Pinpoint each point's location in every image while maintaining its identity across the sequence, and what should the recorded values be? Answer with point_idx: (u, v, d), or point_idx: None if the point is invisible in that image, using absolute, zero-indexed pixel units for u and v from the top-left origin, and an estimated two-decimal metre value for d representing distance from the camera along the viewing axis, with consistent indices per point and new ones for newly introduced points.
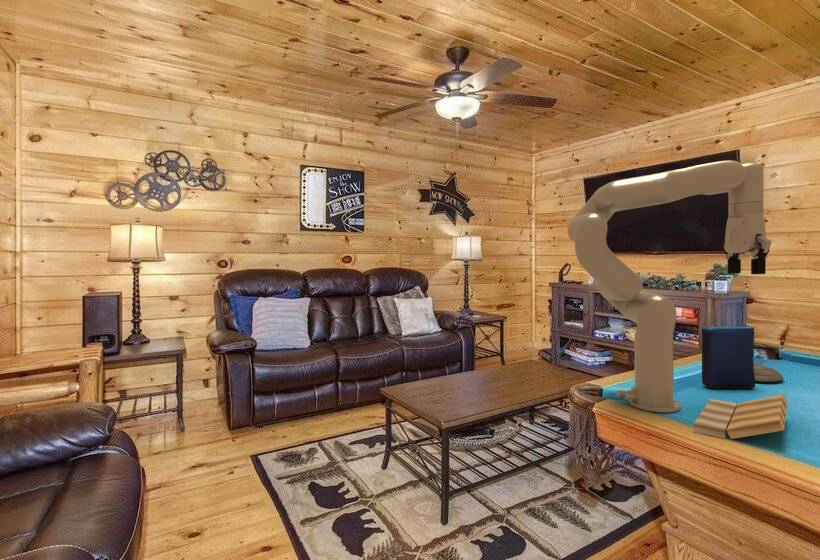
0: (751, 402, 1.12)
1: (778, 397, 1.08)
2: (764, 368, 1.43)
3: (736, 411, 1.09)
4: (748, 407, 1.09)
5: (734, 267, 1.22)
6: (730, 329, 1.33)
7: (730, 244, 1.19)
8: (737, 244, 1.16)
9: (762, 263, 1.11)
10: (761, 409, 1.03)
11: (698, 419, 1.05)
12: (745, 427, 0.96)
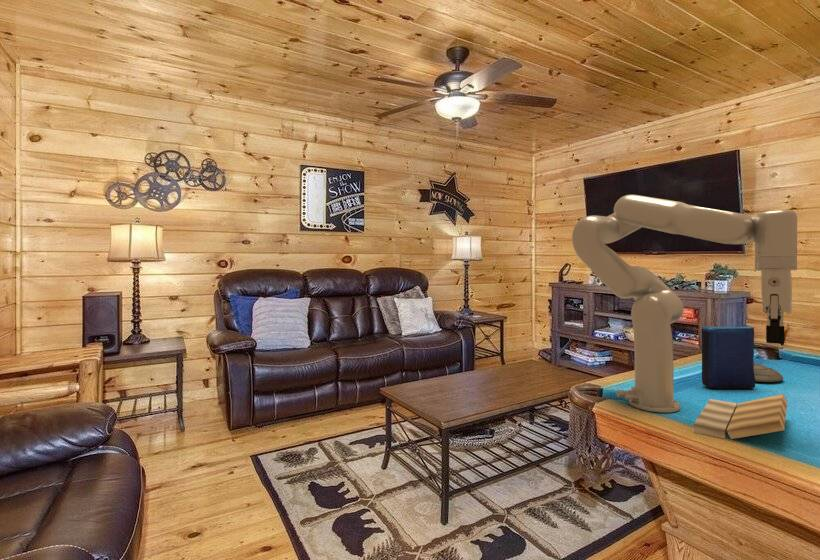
0: (751, 402, 1.12)
1: (778, 397, 1.08)
2: (764, 368, 1.43)
3: (736, 411, 1.09)
4: (748, 407, 1.09)
5: None
6: (730, 329, 1.33)
7: (791, 303, 0.97)
8: None
9: None
10: (761, 409, 1.03)
11: (698, 419, 1.05)
12: (745, 427, 0.96)
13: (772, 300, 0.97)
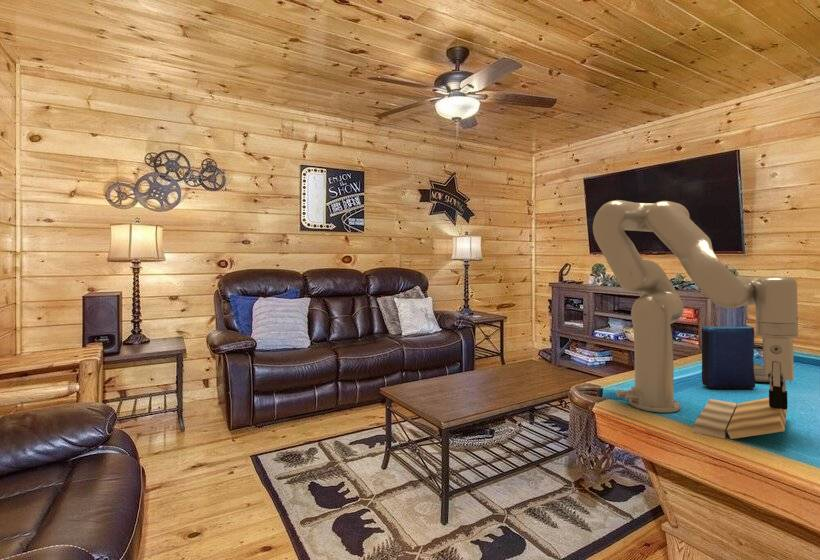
0: (751, 402, 1.12)
1: None
2: None
3: (736, 411, 1.09)
4: (748, 407, 1.09)
5: None
6: (730, 329, 1.33)
7: (793, 370, 0.97)
8: None
9: None
10: (761, 409, 1.03)
11: (698, 419, 1.05)
12: (745, 427, 0.96)
13: (774, 367, 0.98)
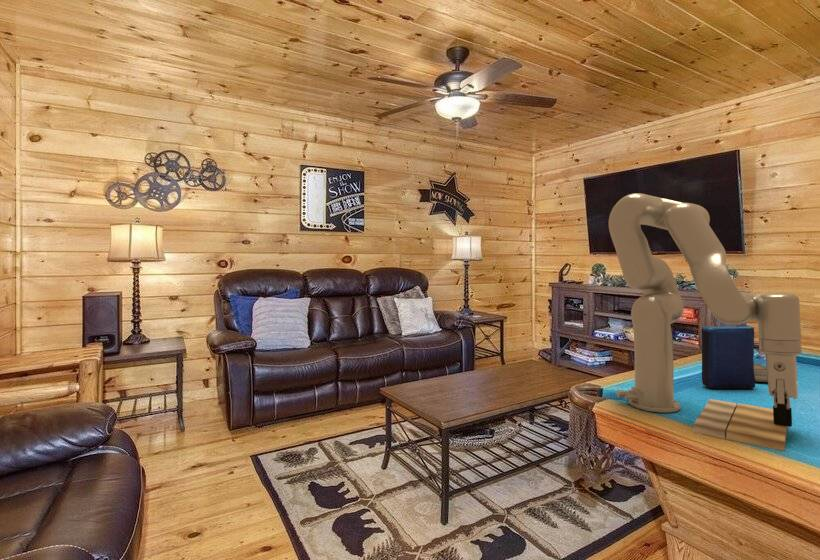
0: (752, 408, 1.12)
1: None
2: (764, 368, 1.43)
3: (736, 412, 1.09)
4: (749, 412, 1.09)
5: None
6: (730, 329, 1.33)
7: (797, 387, 0.97)
8: None
9: None
10: (764, 420, 1.03)
11: (698, 419, 1.05)
12: (747, 434, 0.95)
13: (778, 384, 0.97)
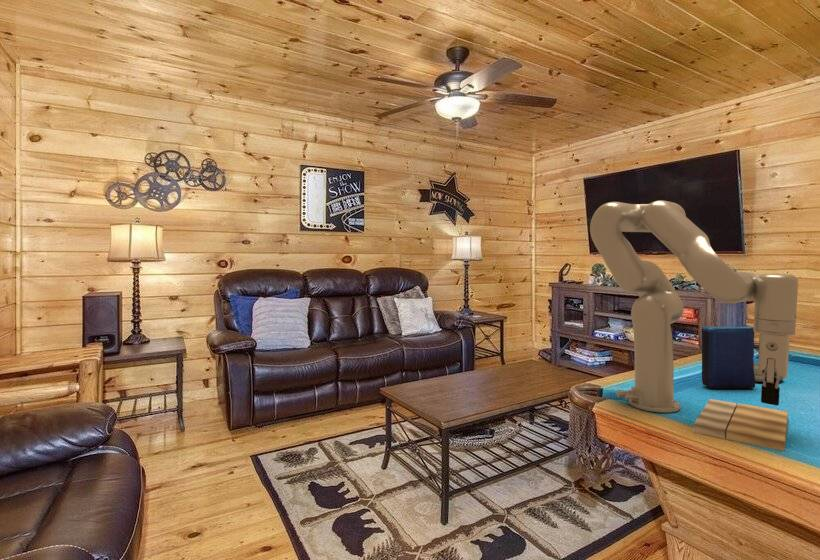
0: (752, 408, 1.12)
1: (782, 413, 1.07)
2: None
3: (736, 412, 1.09)
4: (749, 412, 1.09)
5: None
6: (730, 329, 1.33)
7: (787, 367, 0.98)
8: None
9: None
10: (764, 420, 1.03)
11: (698, 419, 1.05)
12: (747, 434, 0.95)
13: (768, 363, 0.98)
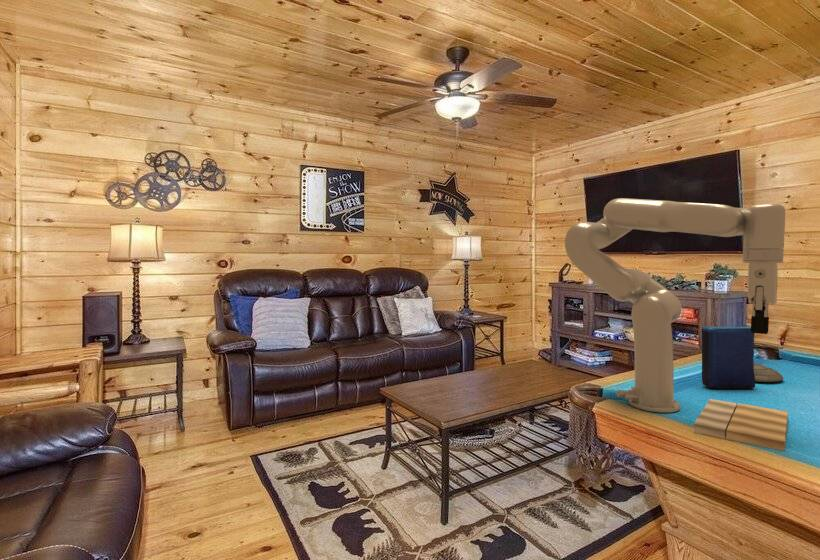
0: (752, 408, 1.12)
1: (782, 413, 1.07)
2: (764, 368, 1.43)
3: (736, 412, 1.09)
4: (749, 412, 1.09)
5: None
6: (730, 329, 1.33)
7: (775, 295, 1.00)
8: None
9: None
10: (764, 420, 1.03)
11: (698, 419, 1.05)
12: (747, 434, 0.95)
13: (757, 291, 1.00)
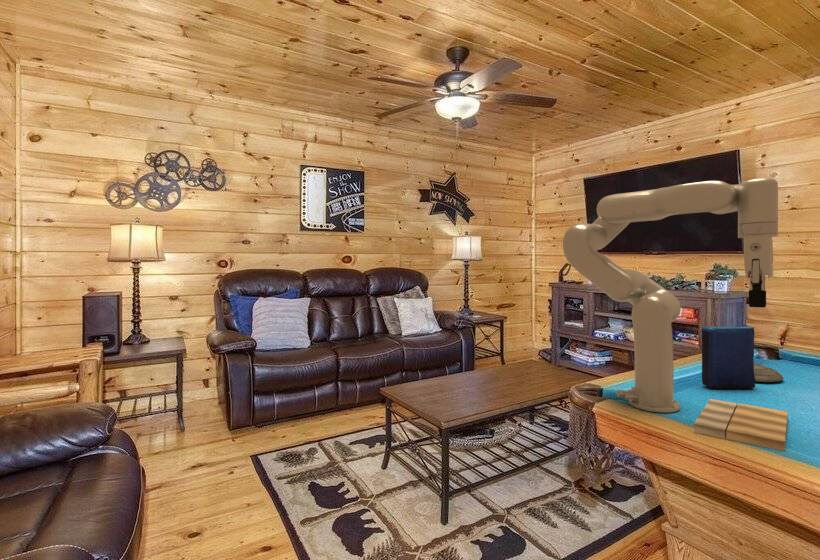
0: (752, 408, 1.12)
1: (782, 413, 1.07)
2: (764, 368, 1.43)
3: (736, 412, 1.09)
4: (749, 412, 1.09)
5: None
6: (730, 329, 1.33)
7: (772, 268, 1.01)
8: None
9: None
10: (764, 420, 1.03)
11: (698, 419, 1.05)
12: (747, 434, 0.95)
13: (753, 265, 1.01)
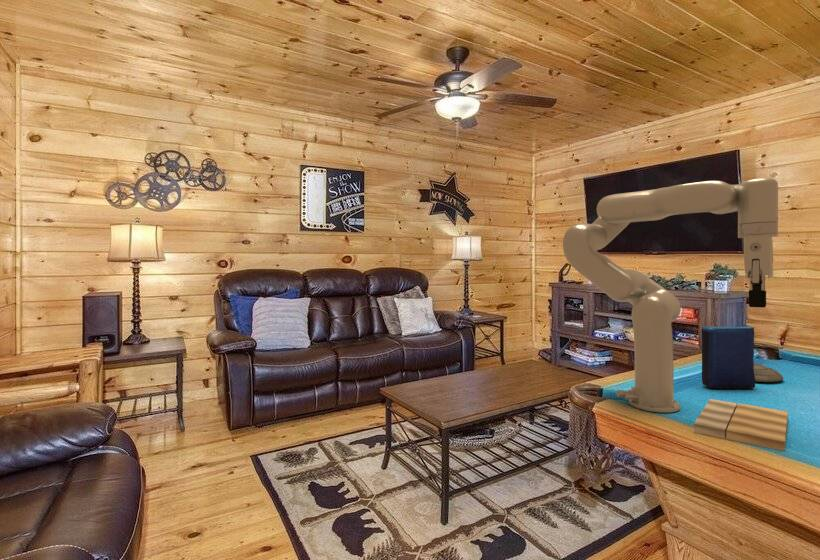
0: (752, 408, 1.12)
1: (782, 413, 1.07)
2: (764, 368, 1.43)
3: (736, 412, 1.09)
4: (749, 412, 1.09)
5: None
6: (730, 329, 1.33)
7: (772, 268, 1.01)
8: None
9: None
10: (764, 420, 1.03)
11: (698, 419, 1.05)
12: (747, 434, 0.95)
13: (753, 265, 1.01)
